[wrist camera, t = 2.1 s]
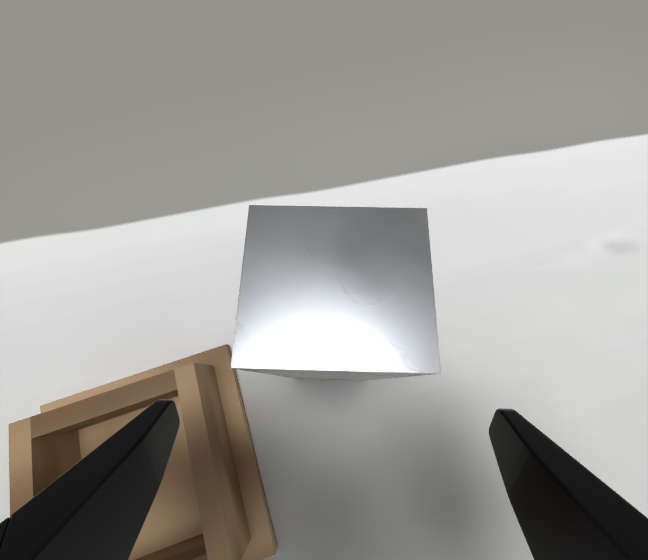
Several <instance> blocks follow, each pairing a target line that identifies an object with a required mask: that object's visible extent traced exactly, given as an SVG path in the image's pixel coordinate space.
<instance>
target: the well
mask: <svg viewBox="0 0 648 560" xmlns="http://www.w3.org/2000/svg"><path fill="white" fill-rule="evenodd" d="M231 360H232V355H231V351H230V347H229V345H227V344H226V345H223V346H220V347H217V348H214V349H211V350H208V351H205V352H202V353H199V354H196V355H193V356H190V357H187V358H184V359H181V360H178V361H175V362H172V363H169V364H166V365H163V366H160V367H157V368H154V369H151V370H148V371H144V372H141V373H138V374H135V375H132V376H129V377H126V378H123V379H120V380H117V381H114V382H111V383H108V384H105V385H102V386H99V387H96V388H93V389H90V390H87V391H84V392H81V393H78V394H75V395H72V396H69V397H66V398H63V399H60V400H57V401H54V402H51V403H48V404H45V405H42V406H40V409H41V414H38V415H35V416H32V417H29V418H26V419H23V420H20V421H17V422H14V423H11V424H9V472H10V517H11V515H12V514H13V513H14V512H15V511H17V510H18V509H19V508H21V507H22V506H23V505H24V504H26V503H27V502H28V501H29V500H31V499H32V498H33V497H34V496H36V495H37V494H38V493H40V492H41V491H42V490H43V489H45V488H46V487H47V486H48V485H50V484H51V483H52V482H54V481H55V480H56V479H57V478H59V477H60V476H61V475H62V474H64V473H65V472H66V471H67V470H69V469H70V468H71V467H73V466H74V465H75V464H76V463H78V462H79V461H80V460H81V459H83V458H84V457H85V456H87V455H88V454H89V453H90V452H92V451H93V450H94V449H95V448H97V447H98V446H99V445H100V444H102V443H103V442H104V441H106V440H107V439H108V438H109V437H111V436H112V435H113V434H114V433H116V432H117V431H118V430H120V429H121V428H122V427H123V426H125V425H126V424H127V423H128V422H130V421H131V420H132V419H133V418H135V417H136V416H137V415H139V414H140V413H141V412H142V411H144V410H145V409H146V408H147V407H149V406H150V405H151V404H153V403H154V402H155V401H157V400H159V399H171V400H173V401H174V402H175V404H176V408H177V411H178V415H179V418H180V425H179V429H178V432H177V436H176V439H175V442H174V445H173V448H172V451H171V454H170V457H169V460H168V463H167V466H166V470H165V473H164V476H163V479H162V481H161V484H160V487H159V489H158V492H157V494H156V497H155V499H154V501H153V503H152V506H151V508H150V510H149V513H148V515H147V517H146V520H145V522H144V524H143V527H142V529H141V531H140V533H139V536H138V538H137V540H136V543H135V545H134V547H133V550H132V552H131V554H130V557H129V559H128V560H261V559H264V558H266V557H269V556H271V555H274V554H275V553H276V550H277V546H276V541H275V537H274V533H273V529H272V524H271V520H270V516H269V512H268V508H267V503H266V499H265V495H264V491H263V486H262V482H261V478H260V474H259V469H258V465H257V461H256V457H255V452H254V448H253V444H252V440H251V436H250V431H249V427H248V423H247V419H246V414H245V410H244V406H243V402H242V397H241V393H240V389H239V385H238V380H237V376H236V372H235V369H234V368H231Z"/></svg>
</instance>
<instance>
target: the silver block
mask: <svg viewBox="0 0 648 560" xmlns="http://www.w3.org/2000/svg"><path fill="white" fill-rule="evenodd" d="M231 368H234V369H240V370H246V371H253V372H259V373H265V374H271V375H277V376H283V377H289V378H308V379H345V380H374V379H385V378H396V377H408V376H419V375H430V374H441V368H440V356H439V345H438V333H437V322H436V310H435V299H434V287H433V275H432V264H431V252H430V241H429V229H428V218H427V208H376V207H320V206H264V205H249V212H248V221H247V229H246V238H245V247H244V255H243V264H242V273H241V282H240V290H239V299H238V308H237V316H236V325H235V334H234V343H233V351H232V360H231Z"/></svg>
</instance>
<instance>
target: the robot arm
mask: <svg viewBox="0 0 648 560" xmlns="http://www.w3.org/2000/svg"><path fill="white" fill-rule="evenodd" d="M179 425H180V418H179V415H178V411H177V408H176V404H175V402H174V401H173V400H171V399H159V400H157V401H155V402H154V403H153V404H151V405H150V406H149V407H147V408H146V409H145V410H144V411H142V412H141V413H140V414H139V415H137V416H136V417H135V418H133V419H132V420H131V421H130V422H128V423H127V424H126V425H125V426H123V427H122V428H121V429H120V430H118V431H117V432H116V433H114V434H113V435H112V436H111V437H109V438H108V439H107V440H106V441H104V442H103V443H102V444H100V445H99V446H98V447H97V448H95V449H94V450H93V451H92V452H90V453H89V454H88V455H87V456H85V457H84V458H83V459H81V460H80V461H79V462H78V463H76V464H75V465H74V466H73V467H71V468H70V469H69V470H67V471H66V472H65V473H64V474H62V475H61V476H60V477H59V478H57V479H56V480H55V481H54V482H52V483H51V484H50V485H48V486H47V487H46V488H45V489H43V490H42V491H41V492H40V493H38V494H37V495H36V496H34V497H33V498H32V499H31V500H29V501H28V502H27V503H26V504H24V505H23V506H22V507H21V508H19V509H18V510H17V511H15V512H14V513H13V514H12V515H11V517H10V518H6V519H5V520H4V521H3V522H1V523H0V560H128V559H129V557H130V554H131V552H132V550H133V547H134V545H135V543H136V540H137V538H138V536H139V533H140V531H141V529H142V527H143V524H144V522H145V520H146V517H147V515H148V513H149V510H150V508H151V506H152V503H153V501H154V499H155V497H156V494H157V492H158V489H159V487H160V484H161V481H162V479H163V476H164V473H165V470H166V466H167V463H168V460H169V457H170V454H171V451H172V448H173V445H174V442H175V439H176V436H177V432H178V429H179ZM489 436H490V440H491V443H492V446H493V449H494V453H495V456H496V459H497V462H498V466H499V469H500V472H501V475H502V478H503V482H504V485H505V488H506V491H507V494H508V497H509V499H510V502H511V505H512V507H513V509H514V512H515V514H516V517H517V519H518V522H519V524H520V526H521V529H522V531H523V534H524V536H525V538H526V541H527V543H528V546H529V548H530V550H531V553H532V555H533V558H534V560H648V518H647V517H646V516H644V515H643V514H642V513H641V512H639V511H638V510H637V509H636V508H634V507H633V506H632V505H631V504H630V503H628V502H627V501H626V500H625V499H623V498H622V497H621V496H620V495H618V494H617V493H616V492H615V491H614V490H612V489H611V488H610V487H609V486H607V485H606V484H605V483H604V482H602V481H601V480H600V479H599V478H598V477H596V476H595V475H594V474H593V473H591V472H590V471H589V470H588V469H586V468H585V467H584V466H583V465H582V464H580V463H579V462H578V461H577V460H575V459H574V458H573V457H572V456H570V455H569V454H568V453H567V452H566V451H564V450H563V449H562V448H561V447H559V446H558V445H557V444H556V443H555V442H553V441H552V440H551V439H550V438H548V437H547V436H546V435H545V434H543V433H542V432H541V431H540V430H539V429H537V428H536V427H535V426H534V425H532V424H531V423H530V422H529V421H527V420H526V419H525V418H524V417H523V416H521V415H520V414H519V413H518V412H516V411H515V410H513V409H497V410H496V412H495V414H494V417H493V419H492V422H491V425H490V427H489Z"/></svg>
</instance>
